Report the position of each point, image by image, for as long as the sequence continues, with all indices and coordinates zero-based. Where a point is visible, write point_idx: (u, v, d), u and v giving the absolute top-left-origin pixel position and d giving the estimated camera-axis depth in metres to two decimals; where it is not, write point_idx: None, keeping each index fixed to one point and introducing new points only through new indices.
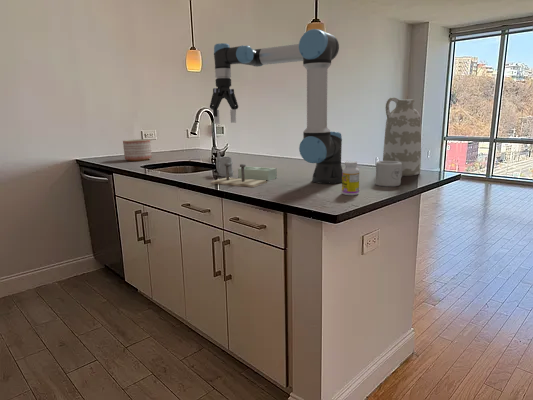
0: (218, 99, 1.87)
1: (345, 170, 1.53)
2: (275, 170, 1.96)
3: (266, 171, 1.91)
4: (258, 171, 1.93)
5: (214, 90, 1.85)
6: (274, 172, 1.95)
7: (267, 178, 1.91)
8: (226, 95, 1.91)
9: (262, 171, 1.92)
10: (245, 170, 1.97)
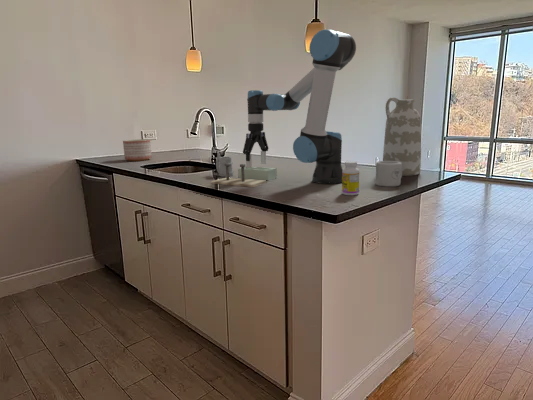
0: (251, 144, 1.91)
1: (345, 170, 1.53)
2: (275, 170, 1.96)
3: (266, 171, 1.91)
4: (258, 171, 1.93)
5: (247, 135, 1.89)
6: (274, 172, 1.95)
7: (267, 178, 1.91)
8: (258, 139, 1.95)
9: (262, 171, 1.92)
10: (245, 170, 1.97)
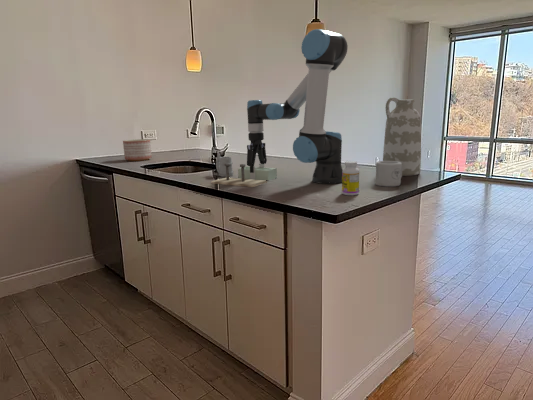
0: (253, 155, 1.93)
1: (345, 170, 1.53)
2: (275, 170, 1.96)
3: (266, 171, 1.91)
4: (258, 171, 1.93)
5: (248, 147, 1.90)
6: (274, 172, 1.95)
7: (267, 178, 1.91)
8: (258, 148, 1.96)
9: (262, 171, 1.92)
10: (245, 170, 1.97)
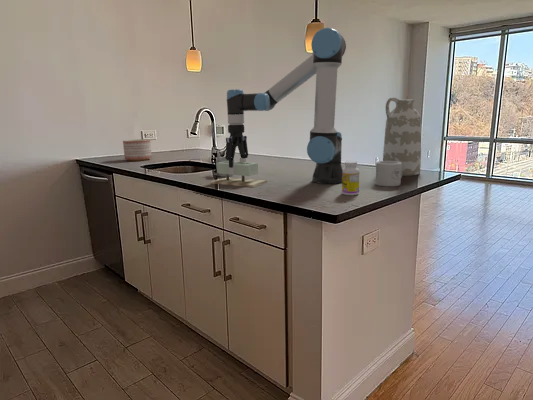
0: (232, 148, 1.80)
1: (345, 170, 1.53)
2: (256, 165, 1.83)
3: (246, 166, 1.78)
4: (238, 166, 1.81)
5: (227, 140, 1.77)
6: (255, 167, 1.83)
7: (247, 173, 1.79)
8: (239, 141, 1.83)
9: (242, 166, 1.79)
10: (224, 165, 1.84)
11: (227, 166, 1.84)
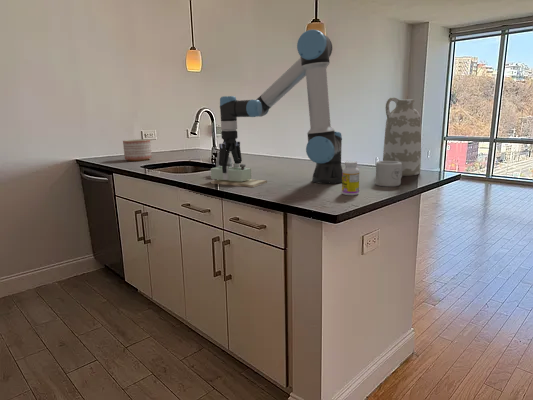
0: (226, 154, 1.83)
1: (345, 170, 1.53)
2: (249, 170, 1.86)
3: (239, 171, 1.81)
4: (231, 171, 1.83)
5: (220, 146, 1.80)
6: (248, 172, 1.85)
7: (240, 179, 1.81)
8: (232, 147, 1.85)
9: (235, 171, 1.82)
10: (218, 170, 1.87)
11: (221, 171, 1.86)
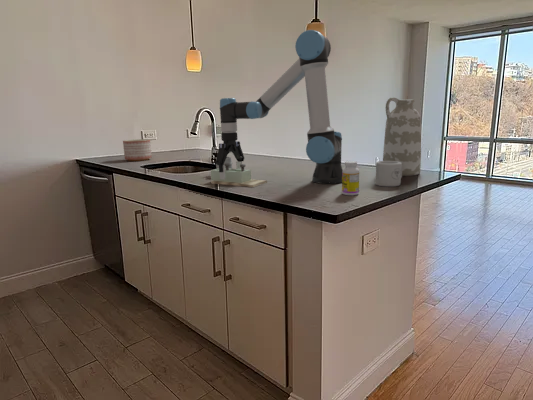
0: (224, 154, 1.82)
1: (345, 170, 1.53)
2: (249, 172, 1.86)
3: (239, 173, 1.81)
4: (231, 173, 1.83)
5: (219, 145, 1.80)
6: (248, 174, 1.86)
7: (240, 180, 1.81)
8: (232, 149, 1.86)
9: (235, 173, 1.82)
10: (218, 172, 1.87)
11: None
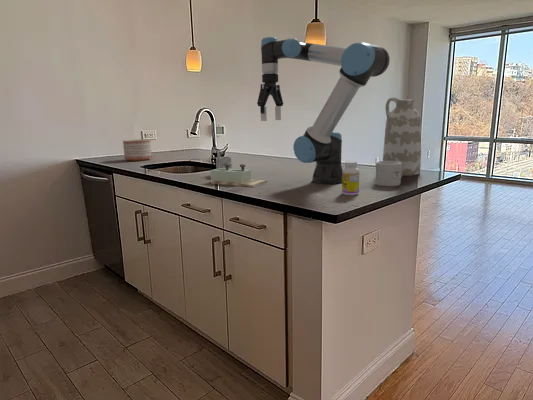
0: (265, 95, 1.79)
1: (345, 170, 1.53)
2: (249, 172, 1.86)
3: (239, 173, 1.81)
4: (231, 173, 1.83)
5: (261, 86, 1.77)
6: (248, 174, 1.86)
7: (240, 180, 1.81)
8: (273, 91, 1.83)
9: (235, 173, 1.82)
10: (218, 172, 1.87)
11: (221, 173, 1.87)
